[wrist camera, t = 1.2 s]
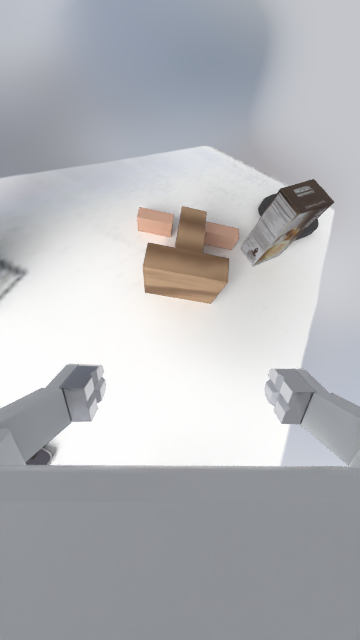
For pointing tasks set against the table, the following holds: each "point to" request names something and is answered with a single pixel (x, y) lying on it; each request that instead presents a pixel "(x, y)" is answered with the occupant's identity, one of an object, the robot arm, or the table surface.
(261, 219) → the coffee box
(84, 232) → the table surface
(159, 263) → the t block
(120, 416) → the table surface
